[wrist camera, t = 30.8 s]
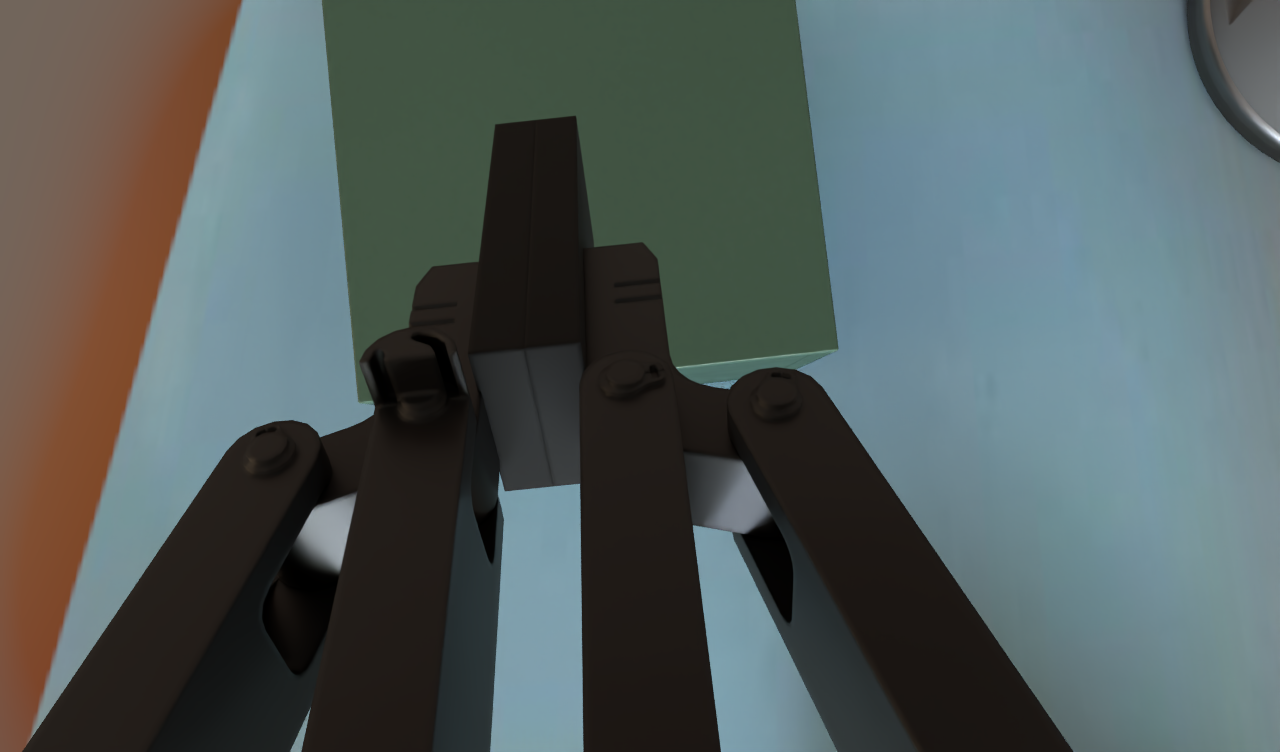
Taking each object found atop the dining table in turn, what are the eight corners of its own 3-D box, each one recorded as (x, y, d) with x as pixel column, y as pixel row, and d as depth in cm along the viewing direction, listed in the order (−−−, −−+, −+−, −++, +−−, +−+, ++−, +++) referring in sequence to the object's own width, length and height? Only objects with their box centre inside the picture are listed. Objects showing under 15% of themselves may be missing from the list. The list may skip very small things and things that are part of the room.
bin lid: (319, -100, 33) (311, -113, 32) (771, -153, 32) (775, -168, 32) (365, 404, 31) (358, 403, 31) (834, 352, 31) (839, 350, 31)
